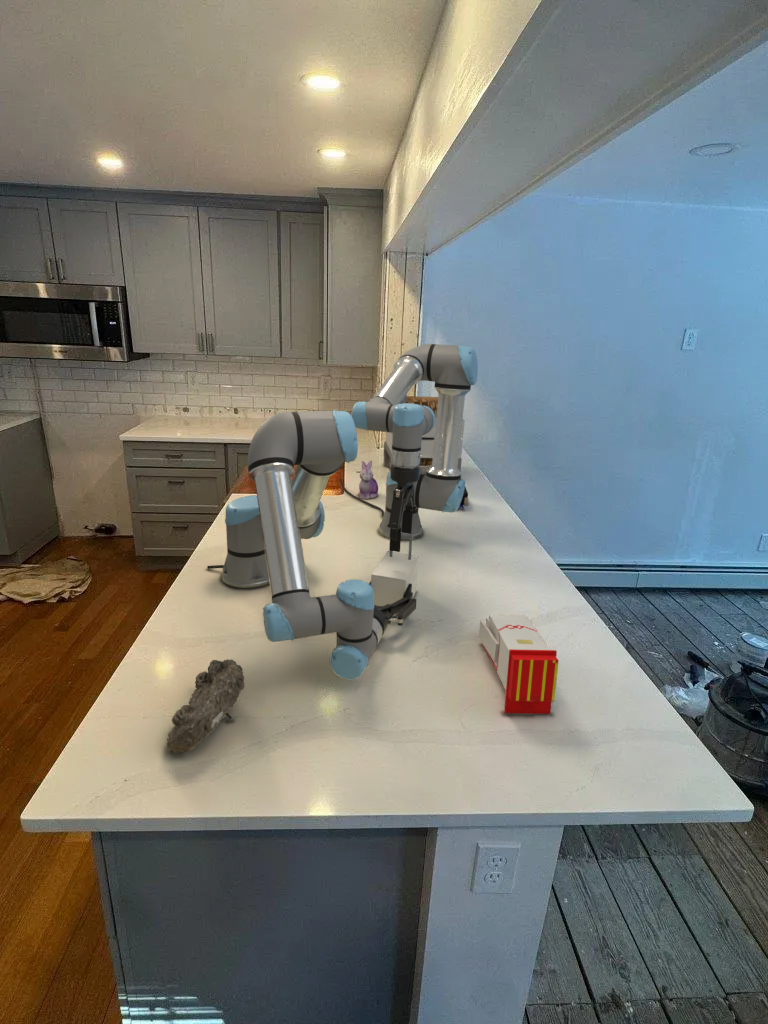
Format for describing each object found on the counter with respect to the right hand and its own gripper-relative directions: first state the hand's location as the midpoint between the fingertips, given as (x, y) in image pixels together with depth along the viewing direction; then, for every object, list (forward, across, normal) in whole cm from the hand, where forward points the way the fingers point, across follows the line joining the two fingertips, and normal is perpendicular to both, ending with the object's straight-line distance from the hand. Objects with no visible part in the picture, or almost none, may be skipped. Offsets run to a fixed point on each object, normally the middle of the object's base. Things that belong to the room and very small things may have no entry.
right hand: (400, 541), depth 153 cm
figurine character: (+15, +82, -5) cm, 83 cm away
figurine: (+15, +79, +32) cm, 87 cm away
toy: (+16, -28, -33) cm, 46 cm away
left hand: (+9, -8, 0) cm, 12 cm away
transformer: (+15, +123, +20) cm, 126 cm away
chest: (+16, -5, 0) cm, 16 cm away
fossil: (+16, -60, +22) cm, 66 cm away
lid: (+6, -4, 0) cm, 7 cm away
